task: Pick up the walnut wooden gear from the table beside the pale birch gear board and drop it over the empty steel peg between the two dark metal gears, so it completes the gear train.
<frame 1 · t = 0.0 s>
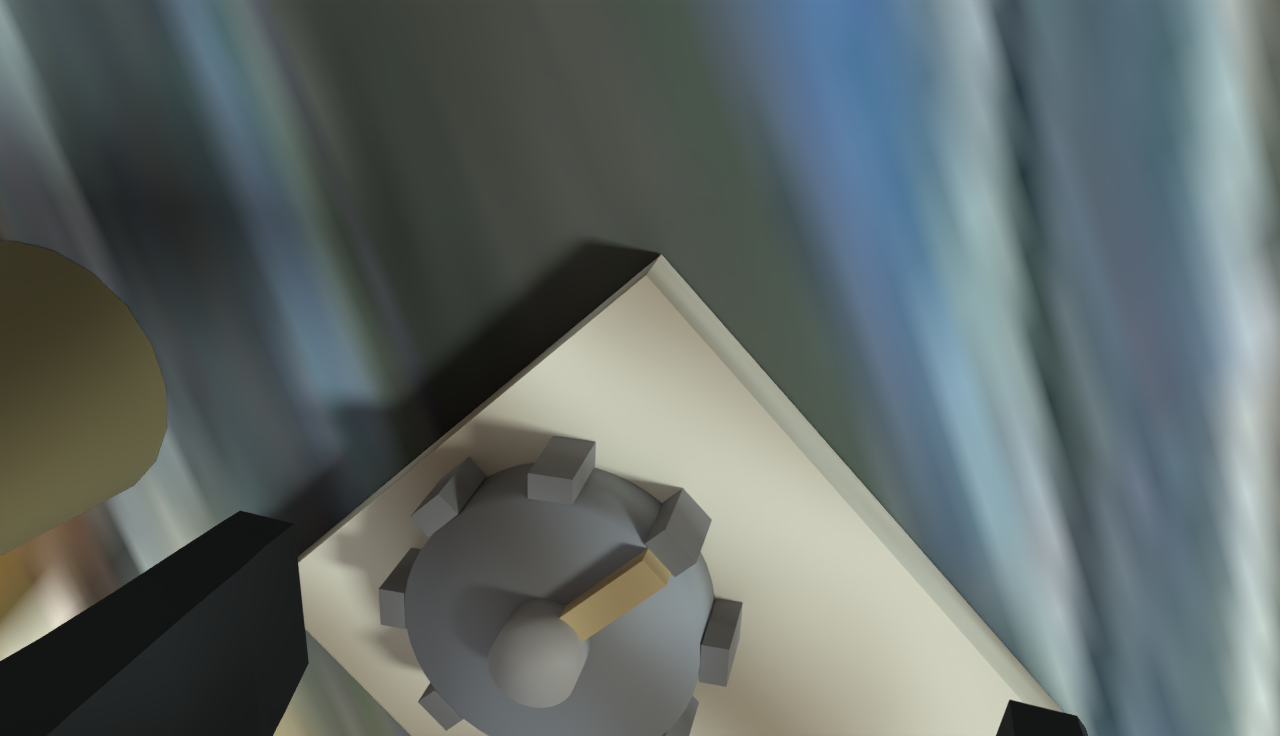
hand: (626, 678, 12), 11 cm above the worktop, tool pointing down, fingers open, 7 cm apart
cork: (47, 372, 26), on the worktop
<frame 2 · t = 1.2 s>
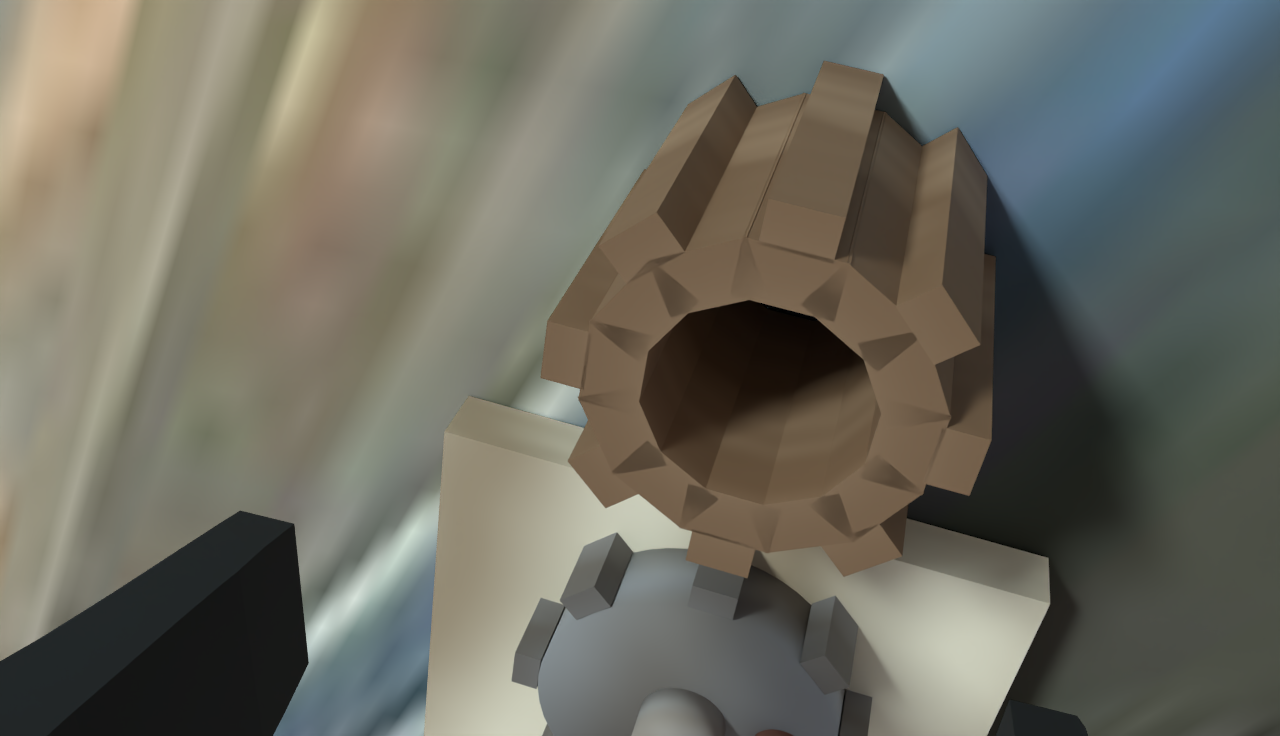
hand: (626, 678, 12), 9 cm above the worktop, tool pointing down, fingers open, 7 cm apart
walnut gear: (810, 236, 19), on the worktop
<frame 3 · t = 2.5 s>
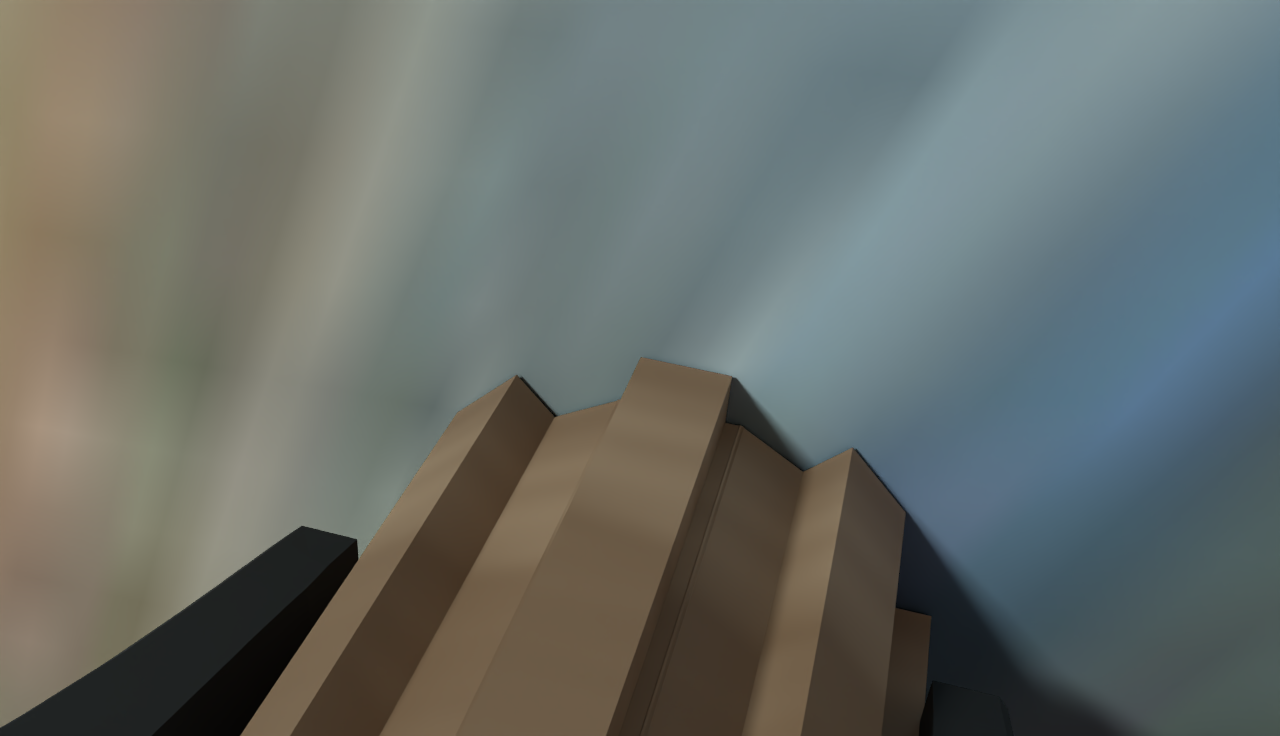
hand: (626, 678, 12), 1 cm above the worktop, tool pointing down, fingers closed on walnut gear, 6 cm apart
walnut gear: (659, 583, 13), on the worktop, touching gripper
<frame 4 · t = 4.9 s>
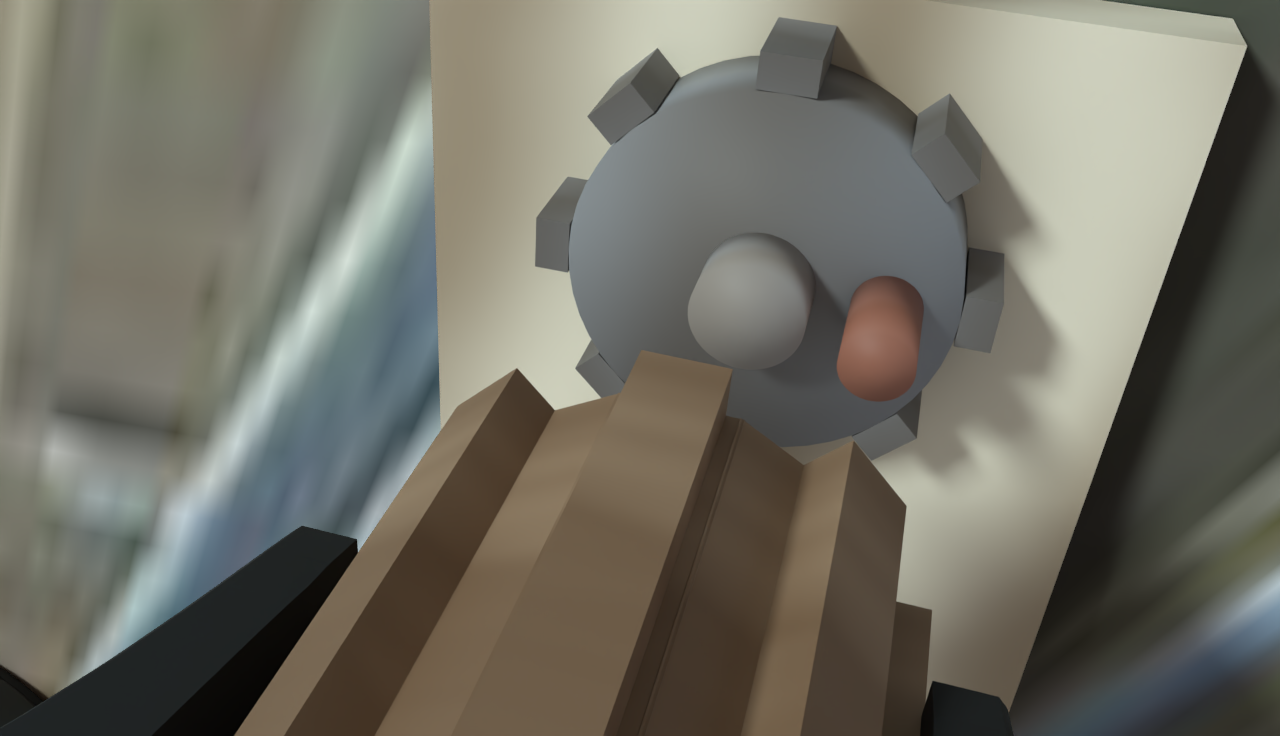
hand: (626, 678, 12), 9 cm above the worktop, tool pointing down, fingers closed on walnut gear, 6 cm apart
gear board: (738, 524, 23), on the worktop
walnut gear: (659, 577, 13), point 8 cm above the worktop, touching gripper
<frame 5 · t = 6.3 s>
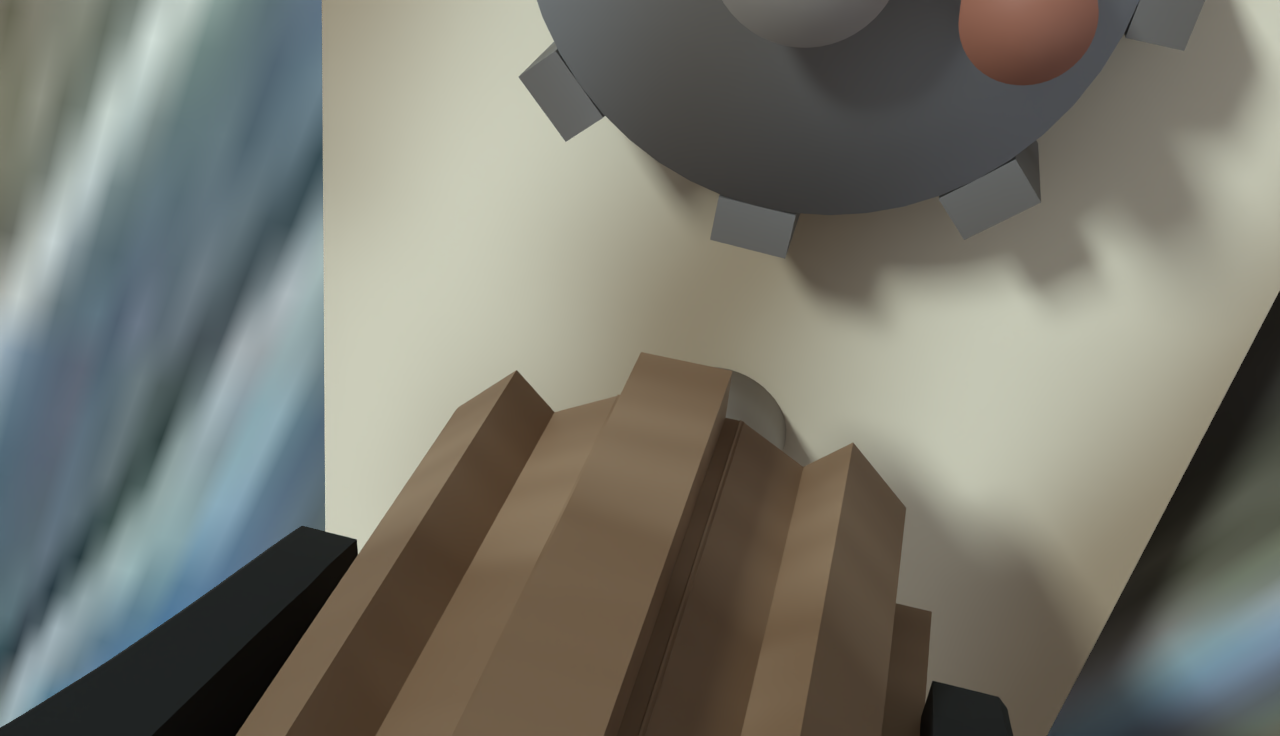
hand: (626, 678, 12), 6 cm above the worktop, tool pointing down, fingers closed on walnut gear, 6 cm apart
gear board: (734, 376, 17), on the worktop
walnut gear: (659, 579, 13), point 4 cm above the worktop, touching gripper
when the fingers open (4 cm above the worktop, at t = 7.4 s): walnut gear drops 1 cm, resting on gear board.
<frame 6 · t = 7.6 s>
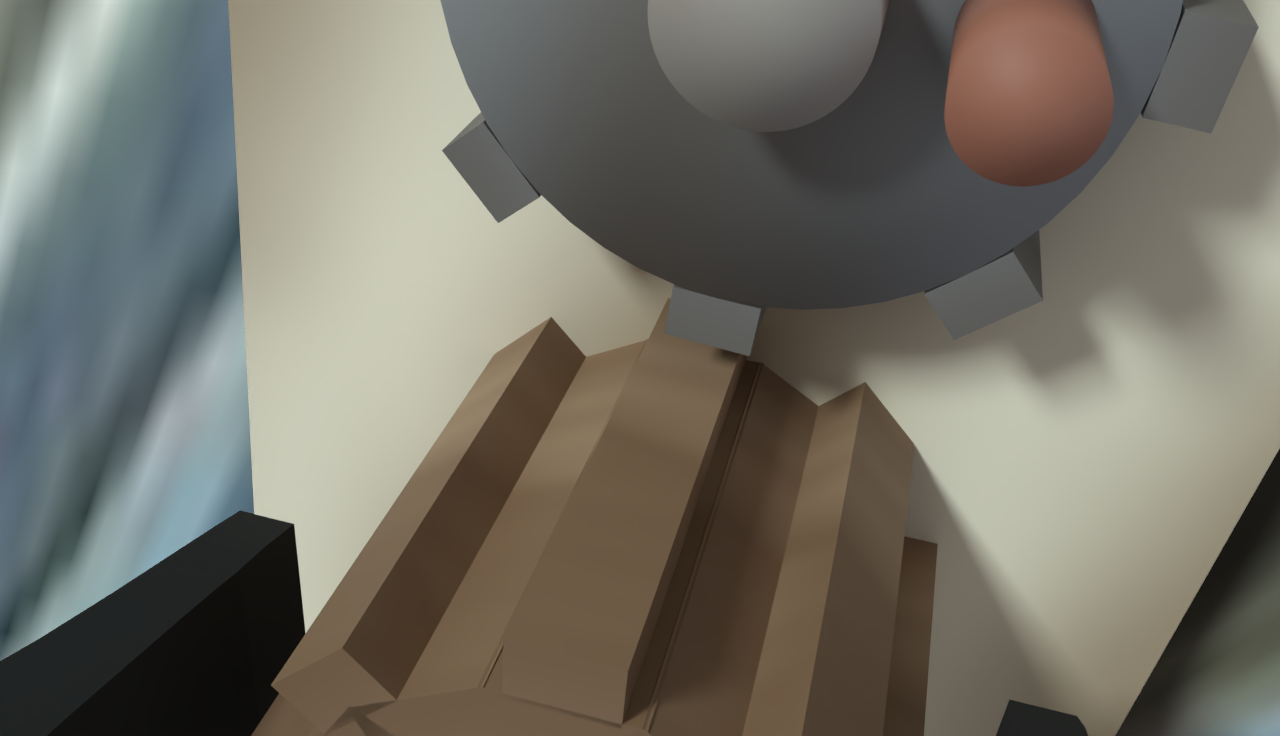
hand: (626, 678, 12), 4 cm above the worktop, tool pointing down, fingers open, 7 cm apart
gear board: (703, 459, 15), on the worktop
walnut gear: (682, 516, 14), point 1 cm above the worktop, touching gear board
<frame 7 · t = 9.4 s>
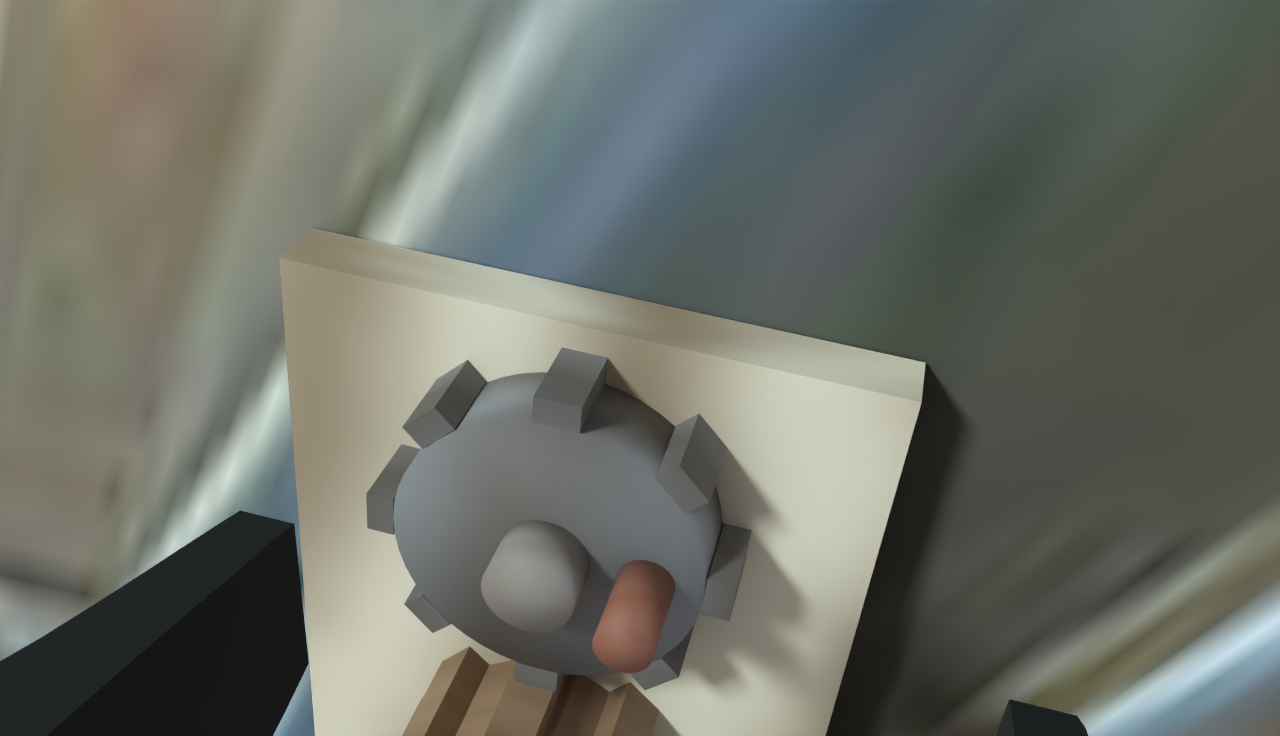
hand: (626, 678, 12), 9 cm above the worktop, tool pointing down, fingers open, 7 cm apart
gear board: (565, 700, 27), on the worktop
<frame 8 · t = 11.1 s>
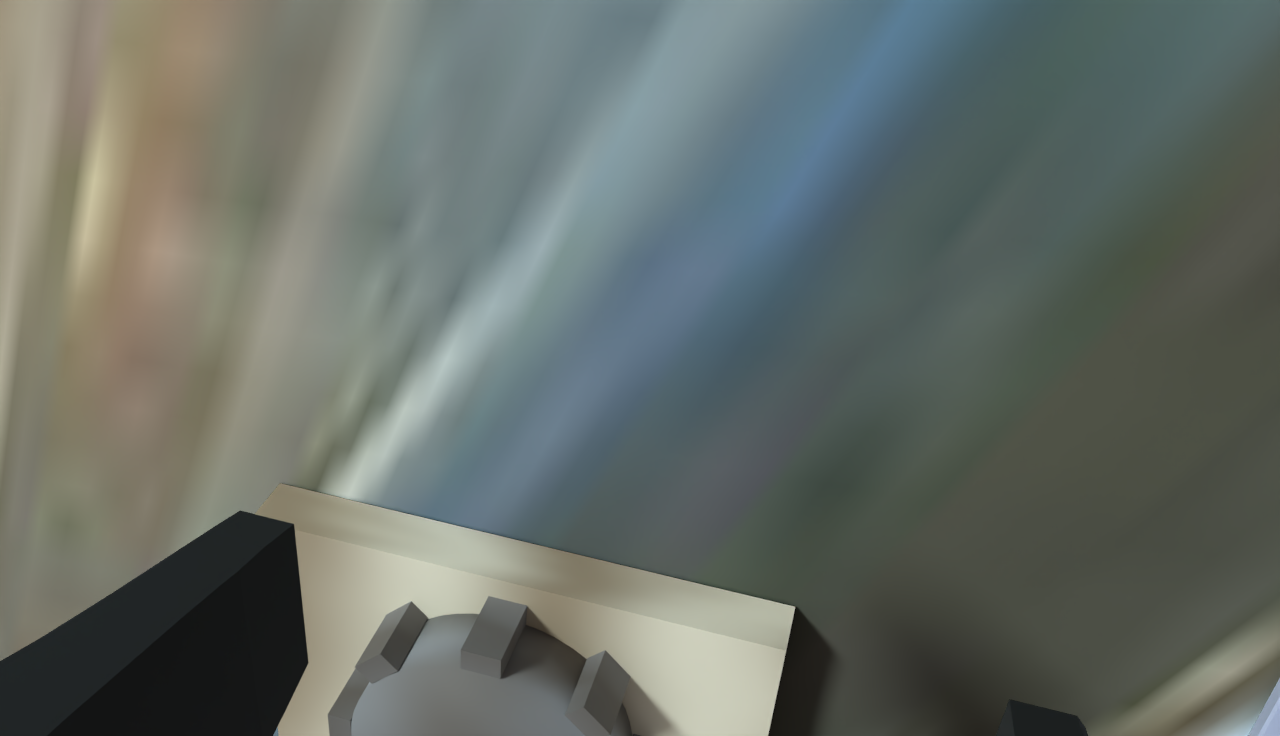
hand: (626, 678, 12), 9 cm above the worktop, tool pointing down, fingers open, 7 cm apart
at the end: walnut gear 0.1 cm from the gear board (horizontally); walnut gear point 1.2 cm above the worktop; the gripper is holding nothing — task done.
